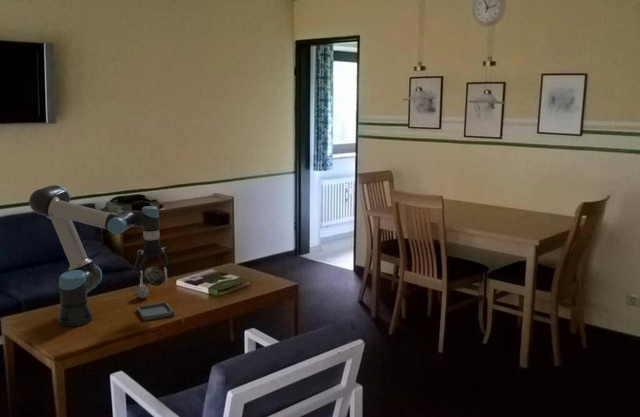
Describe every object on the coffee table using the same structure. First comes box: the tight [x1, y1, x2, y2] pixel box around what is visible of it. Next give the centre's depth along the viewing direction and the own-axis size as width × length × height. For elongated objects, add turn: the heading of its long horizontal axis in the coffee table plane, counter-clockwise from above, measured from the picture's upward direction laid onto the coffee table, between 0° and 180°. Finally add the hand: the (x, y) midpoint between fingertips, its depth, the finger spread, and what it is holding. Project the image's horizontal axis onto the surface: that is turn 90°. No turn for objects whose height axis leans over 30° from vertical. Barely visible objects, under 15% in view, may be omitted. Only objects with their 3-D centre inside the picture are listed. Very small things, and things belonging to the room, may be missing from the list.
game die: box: [132, 283, 152, 301], centre depth 319 cm, size 9×8×10 cm
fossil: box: [143, 266, 166, 287], centre depth 294 cm, size 11×9×10 cm
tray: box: [136, 301, 175, 322], centre depth 298 cm, size 15×16×2 cm
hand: (153, 282), depth 295 cm, fingers closed on fossil, 11 cm apart
